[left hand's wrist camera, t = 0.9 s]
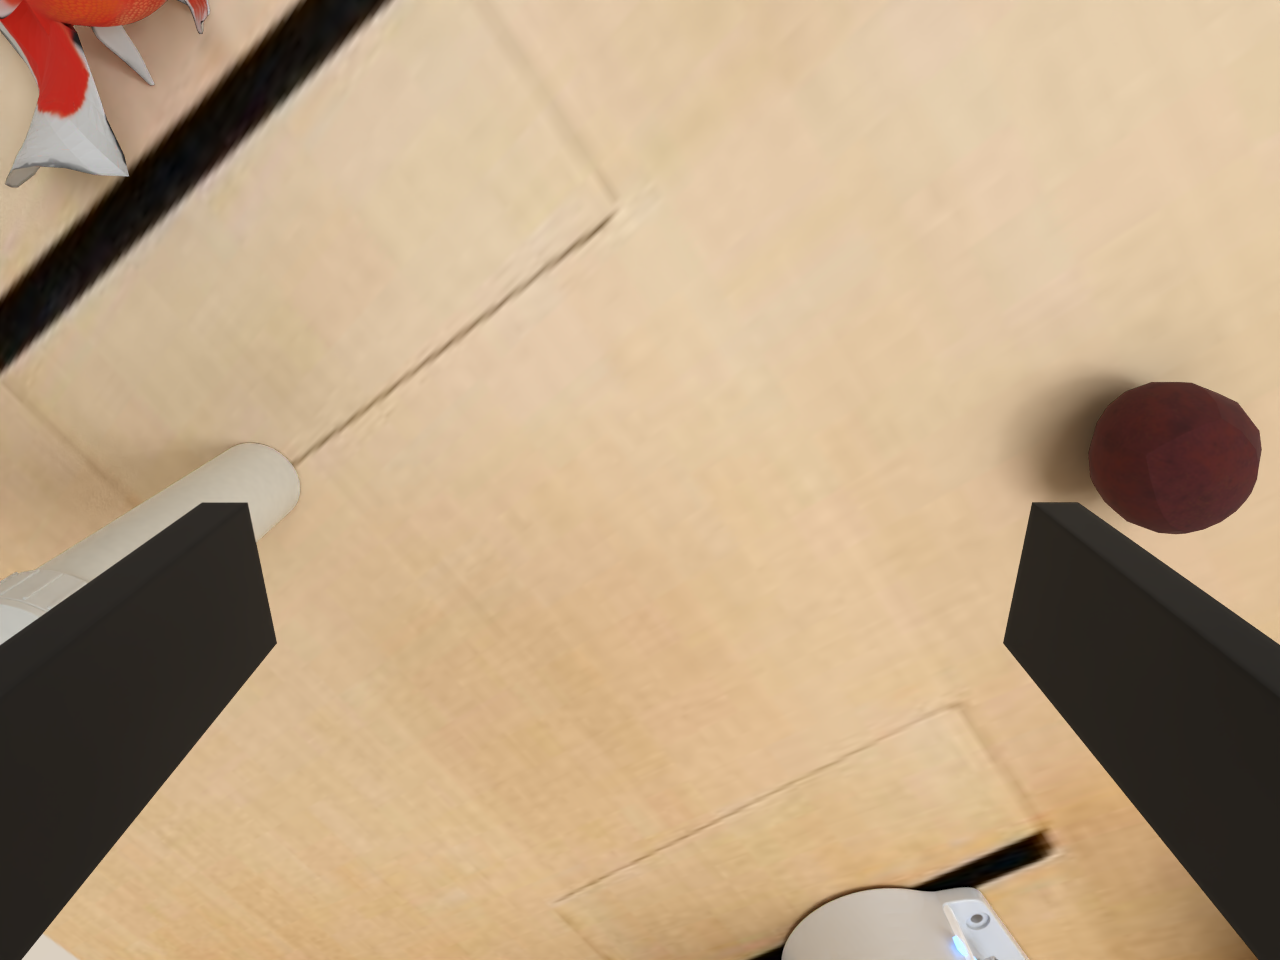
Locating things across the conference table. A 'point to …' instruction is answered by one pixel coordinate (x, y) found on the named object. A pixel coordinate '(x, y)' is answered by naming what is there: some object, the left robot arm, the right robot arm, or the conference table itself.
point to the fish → (74, 79)
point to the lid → (32, 597)
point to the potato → (1174, 457)
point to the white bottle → (191, 506)
